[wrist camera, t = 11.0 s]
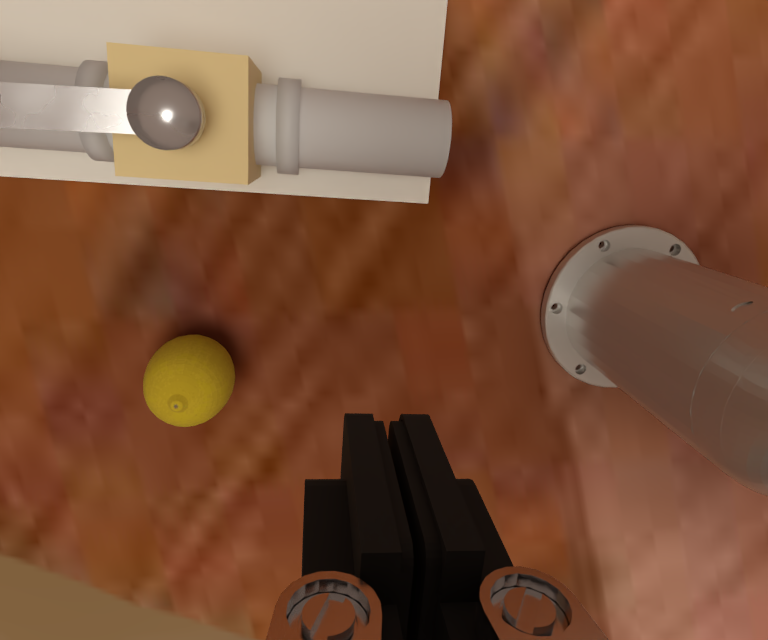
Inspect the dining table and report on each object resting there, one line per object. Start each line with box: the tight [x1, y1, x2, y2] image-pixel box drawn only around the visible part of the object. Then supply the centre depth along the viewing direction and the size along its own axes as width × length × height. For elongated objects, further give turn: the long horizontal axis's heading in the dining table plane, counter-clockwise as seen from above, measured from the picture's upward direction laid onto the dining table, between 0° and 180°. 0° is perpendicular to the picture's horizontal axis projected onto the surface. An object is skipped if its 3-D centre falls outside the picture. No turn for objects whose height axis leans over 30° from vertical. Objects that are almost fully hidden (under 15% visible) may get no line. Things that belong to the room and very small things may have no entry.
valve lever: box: [0, 76, 206, 150], centre depth 24 cm, size 14×3×2 cm, turn 87°
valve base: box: [0, 0, 452, 204], centre depth 30 cm, size 28×12×10 cm, turn 86°
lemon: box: [143, 335, 235, 427], centre depth 36 cm, size 6×6×8 cm
